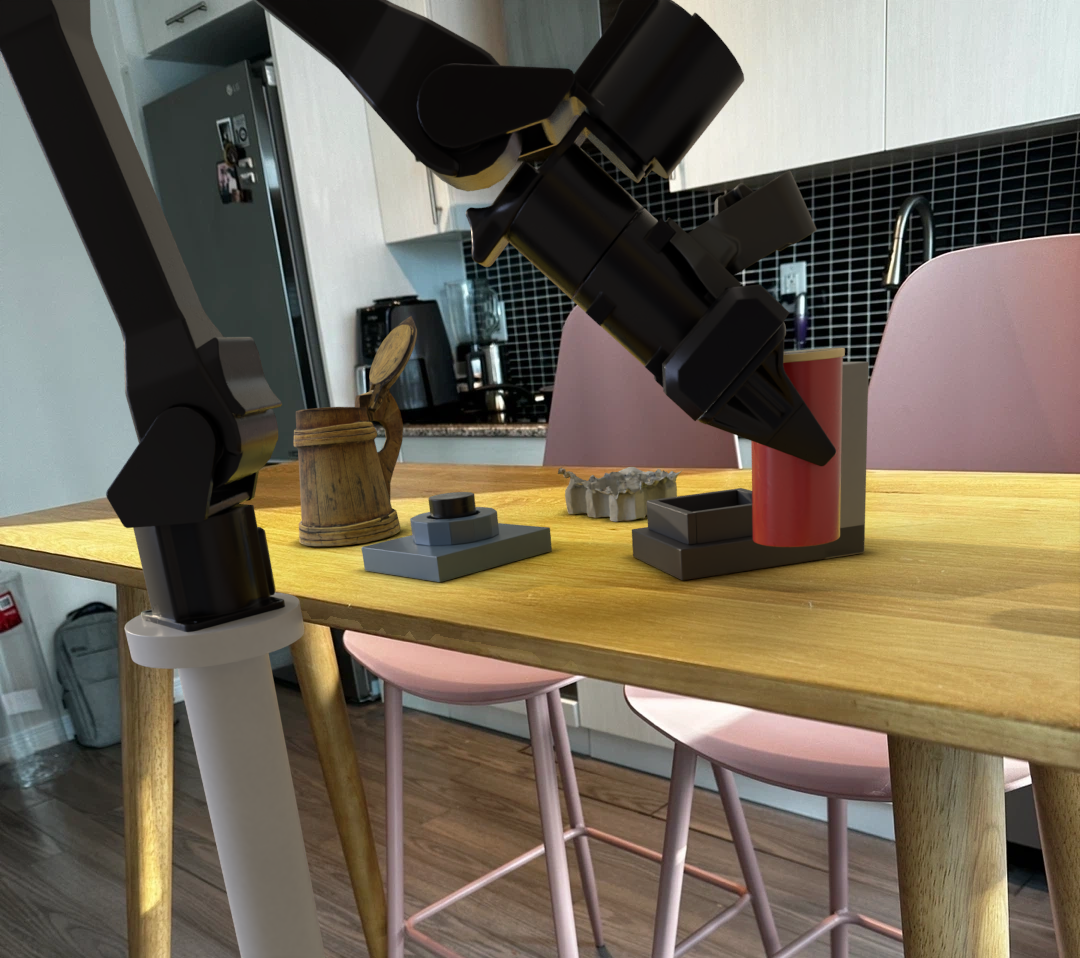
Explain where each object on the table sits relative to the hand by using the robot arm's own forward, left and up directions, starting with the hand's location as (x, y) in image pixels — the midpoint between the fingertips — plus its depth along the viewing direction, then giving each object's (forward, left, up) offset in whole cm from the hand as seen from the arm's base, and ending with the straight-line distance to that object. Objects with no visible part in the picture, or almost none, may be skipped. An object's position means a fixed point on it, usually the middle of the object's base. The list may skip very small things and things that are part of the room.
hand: (821, 454), depth 56 cm
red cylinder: (-1, +1, -5) cm, 5 cm away
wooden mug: (+2, +47, -8) cm, 48 cm away
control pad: (-3, +29, -8) cm, 30 cm away
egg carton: (+18, +31, -8) cm, 37 cm away
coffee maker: (+7, +10, -8) cm, 14 cm away
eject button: (-3, +29, -5) cm, 30 cm away
